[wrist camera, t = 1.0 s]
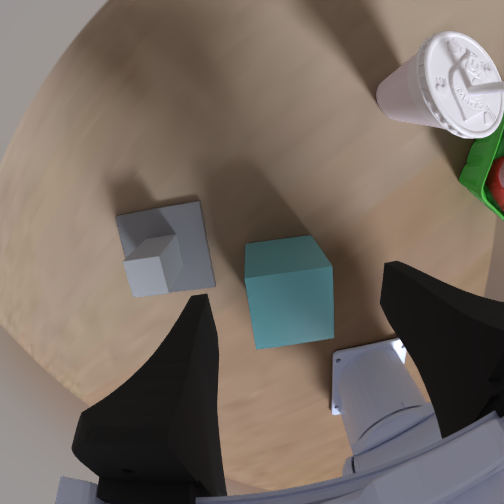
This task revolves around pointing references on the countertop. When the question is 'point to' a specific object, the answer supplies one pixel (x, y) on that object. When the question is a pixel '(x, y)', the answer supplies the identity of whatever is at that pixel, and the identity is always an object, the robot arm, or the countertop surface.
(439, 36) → the smoothie
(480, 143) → the fruit basket
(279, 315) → the teal foam brick
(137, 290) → the grey square base plate
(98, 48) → the countertop surface
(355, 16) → the countertop surface
